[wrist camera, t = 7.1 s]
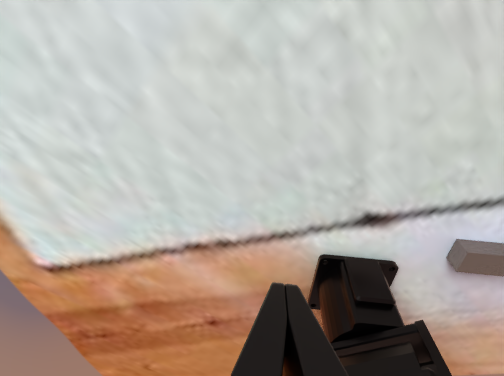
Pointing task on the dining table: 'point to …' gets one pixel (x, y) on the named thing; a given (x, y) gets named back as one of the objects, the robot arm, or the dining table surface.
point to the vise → (477, 257)
